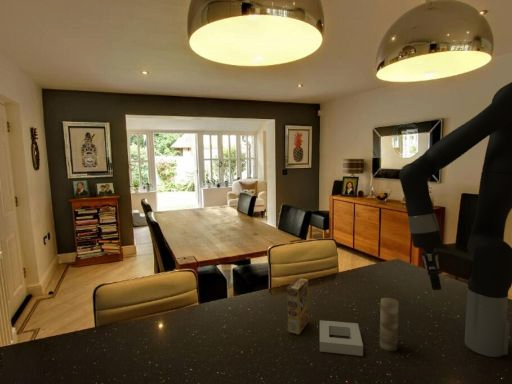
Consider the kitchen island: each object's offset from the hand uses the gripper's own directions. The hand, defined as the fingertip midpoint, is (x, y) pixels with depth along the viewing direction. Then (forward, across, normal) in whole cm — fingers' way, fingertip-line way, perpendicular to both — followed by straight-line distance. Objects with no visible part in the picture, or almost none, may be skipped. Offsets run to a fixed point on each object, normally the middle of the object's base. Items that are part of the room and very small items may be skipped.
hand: (436, 285), depth 88 cm
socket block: (+13, -8, +29) cm, 33 cm away
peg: (+16, -4, +16) cm, 23 cm away
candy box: (+10, -7, +43) cm, 45 cm away
